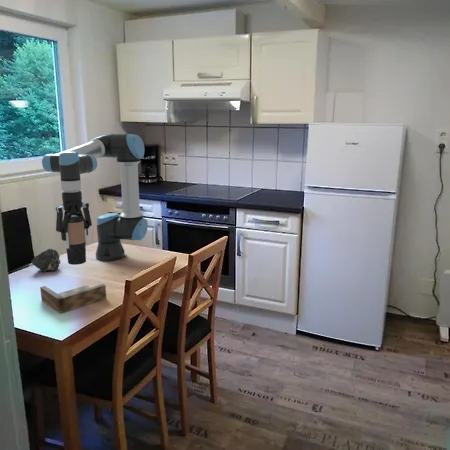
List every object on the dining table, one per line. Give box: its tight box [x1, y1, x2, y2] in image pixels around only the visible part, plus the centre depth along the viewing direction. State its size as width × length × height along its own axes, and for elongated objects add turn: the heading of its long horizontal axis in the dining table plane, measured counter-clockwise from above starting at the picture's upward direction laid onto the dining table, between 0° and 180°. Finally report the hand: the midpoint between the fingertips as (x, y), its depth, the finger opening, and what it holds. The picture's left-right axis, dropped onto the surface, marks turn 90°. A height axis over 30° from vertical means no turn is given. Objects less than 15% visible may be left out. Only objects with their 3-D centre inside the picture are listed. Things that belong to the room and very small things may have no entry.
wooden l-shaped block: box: [39, 283, 107, 314], centre depth 181 cm, size 20×17×6 cm
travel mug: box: [63, 213, 87, 266], centre depth 180 cm, size 8×8×20 cm
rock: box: [31, 248, 61, 272], centre depth 214 cm, size 12×10×10 cm
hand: (75, 245), depth 180 cm, fingers closed on travel mug, 8 cm apart
